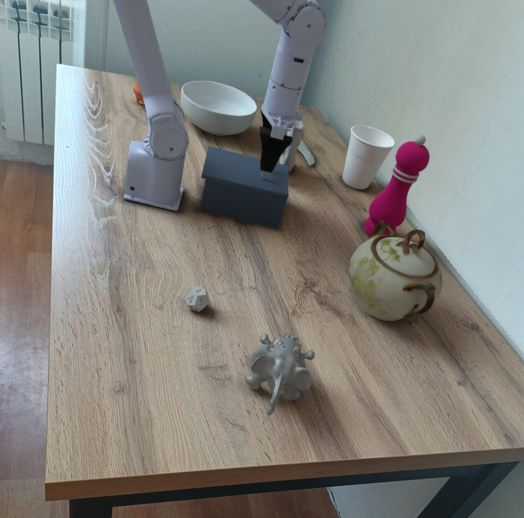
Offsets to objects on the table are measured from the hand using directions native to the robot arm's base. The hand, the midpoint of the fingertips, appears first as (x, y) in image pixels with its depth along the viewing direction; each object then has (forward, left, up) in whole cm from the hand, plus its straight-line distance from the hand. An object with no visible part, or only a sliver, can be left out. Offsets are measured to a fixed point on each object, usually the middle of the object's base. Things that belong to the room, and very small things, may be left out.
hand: (266, 160), depth 96 cm
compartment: (-3, 0, -10) cm, 10 cm away
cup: (+22, +21, -10) cm, 32 cm away
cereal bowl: (-11, +31, -10) cm, 34 cm away
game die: (-8, -32, -10) cm, 34 cm away
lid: (-3, 0, -3) cm, 4 cm away
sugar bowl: (+22, -22, -10) cm, 33 cm away
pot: (-26, +33, -10) cm, 43 cm away
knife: (+9, +36, -10) cm, 39 cm away
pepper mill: (+25, +2, -10) cm, 27 cm away
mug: (+4, +18, -10) cm, 21 cm away
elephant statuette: (+4, -46, -10) cm, 47 cm away
